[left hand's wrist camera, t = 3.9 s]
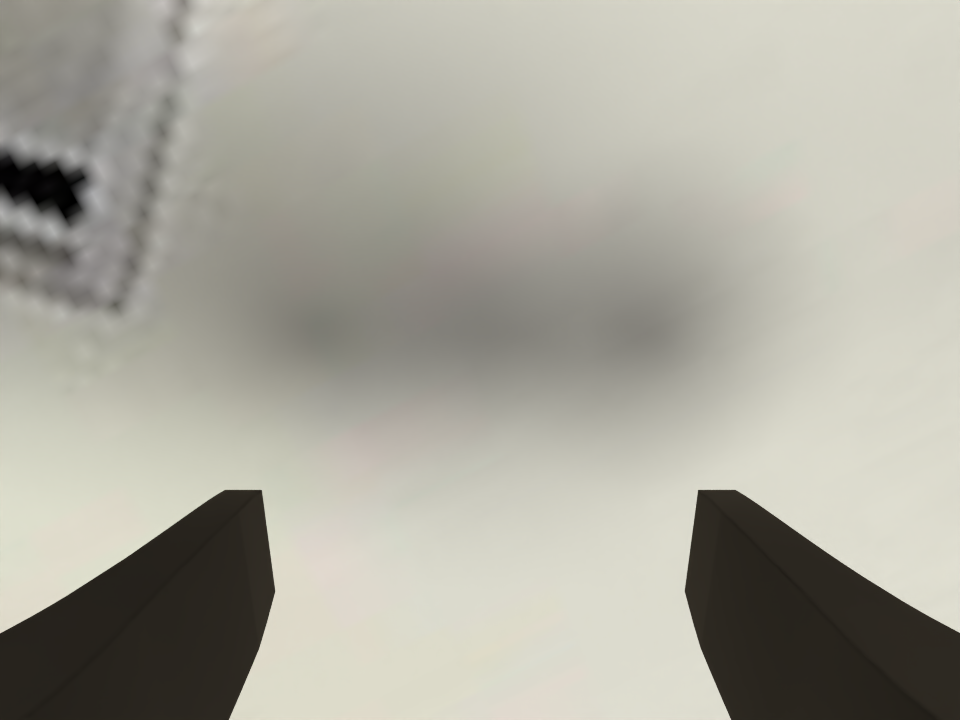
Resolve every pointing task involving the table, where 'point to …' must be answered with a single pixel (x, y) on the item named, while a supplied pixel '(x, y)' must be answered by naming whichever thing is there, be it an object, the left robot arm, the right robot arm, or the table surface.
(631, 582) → the table surface
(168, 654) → the left robot arm
